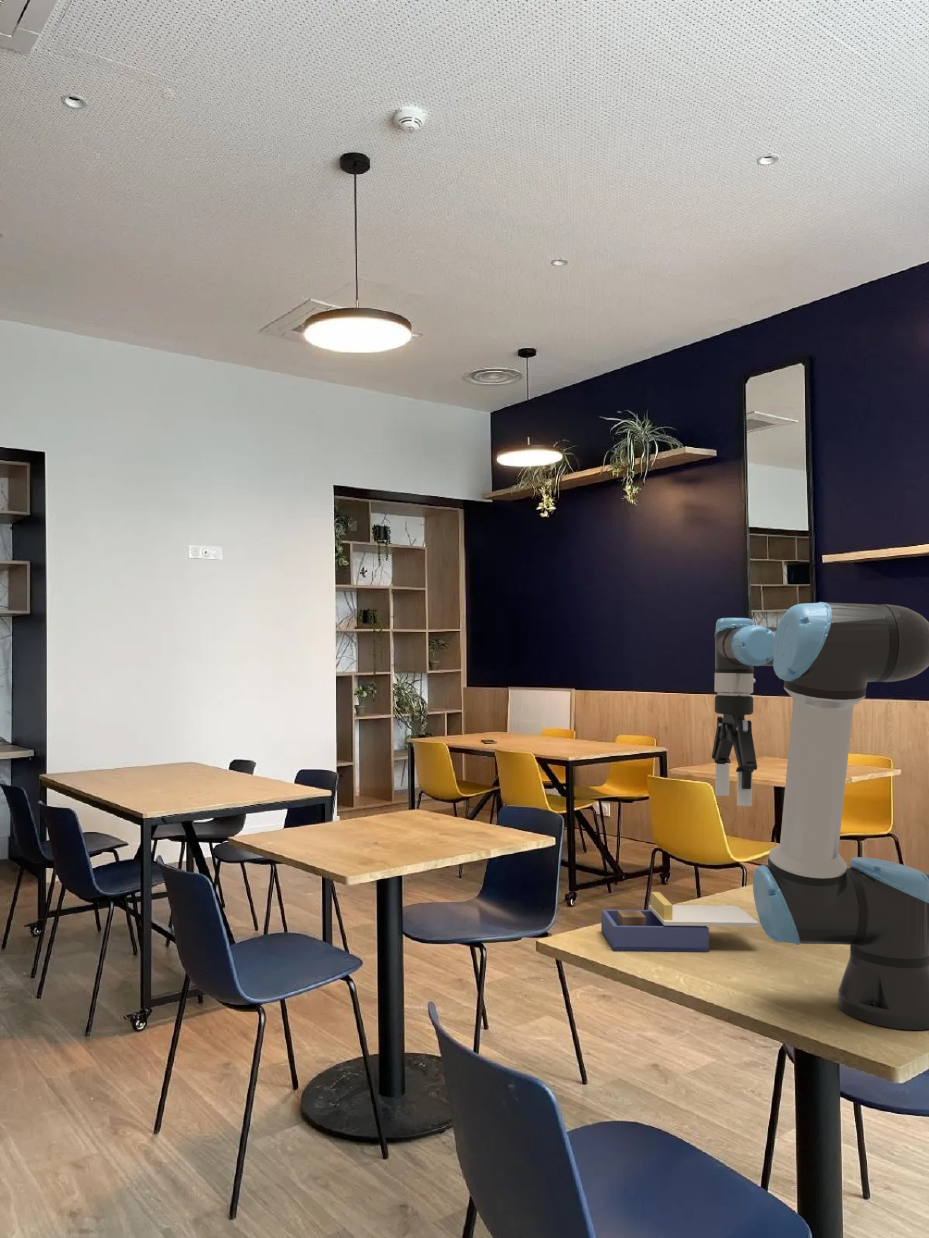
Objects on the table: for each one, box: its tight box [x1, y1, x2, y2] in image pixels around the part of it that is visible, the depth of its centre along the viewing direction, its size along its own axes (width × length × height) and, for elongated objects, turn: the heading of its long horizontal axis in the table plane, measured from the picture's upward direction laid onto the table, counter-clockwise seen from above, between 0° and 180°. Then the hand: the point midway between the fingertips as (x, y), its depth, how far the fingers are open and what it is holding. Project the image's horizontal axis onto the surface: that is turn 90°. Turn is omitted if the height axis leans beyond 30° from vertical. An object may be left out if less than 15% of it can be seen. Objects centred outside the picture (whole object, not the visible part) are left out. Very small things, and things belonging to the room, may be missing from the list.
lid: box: [648, 891, 760, 928], centre depth 182 cm, size 12×18×4 cm, turn 92°
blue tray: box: [600, 909, 710, 953], centre depth 181 cm, size 12×18×4 cm, turn 92°
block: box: [617, 911, 646, 926], centre depth 181 cm, size 4×4×4 cm
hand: (732, 800), depth 188 cm, fingers open, 13 cm apart
